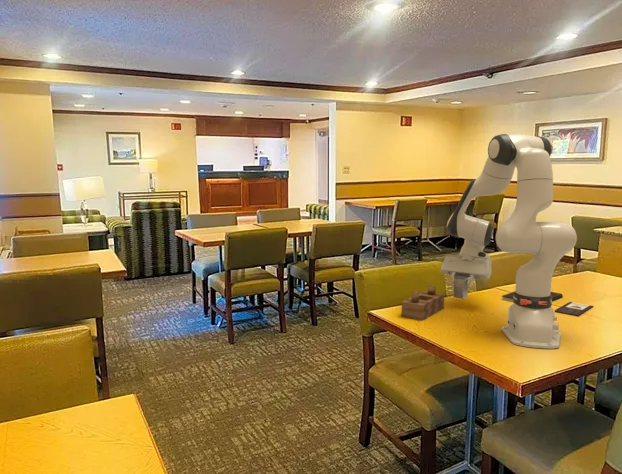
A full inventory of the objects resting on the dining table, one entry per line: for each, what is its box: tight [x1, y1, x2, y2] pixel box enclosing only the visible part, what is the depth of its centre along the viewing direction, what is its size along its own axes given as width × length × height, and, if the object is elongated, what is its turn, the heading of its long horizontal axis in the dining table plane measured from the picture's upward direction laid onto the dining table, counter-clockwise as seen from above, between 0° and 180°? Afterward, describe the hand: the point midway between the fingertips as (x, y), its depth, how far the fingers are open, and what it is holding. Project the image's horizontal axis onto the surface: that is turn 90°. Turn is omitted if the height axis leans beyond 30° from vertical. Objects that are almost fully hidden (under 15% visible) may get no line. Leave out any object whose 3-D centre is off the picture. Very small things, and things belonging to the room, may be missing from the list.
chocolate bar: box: [554, 301, 594, 318], centre depth 191 cm, size 9×1×18 cm
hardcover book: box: [501, 291, 564, 303], centre depth 208 cm, size 16×23×2 cm
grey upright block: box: [453, 274, 470, 300], centre depth 194 cm, size 5×4×9 cm
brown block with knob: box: [401, 285, 445, 321], centre depth 190 cm, size 20×9×10 cm, turn 141°
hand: (460, 284), depth 193 cm, fingers closed on grey upright block, 4 cm apart
